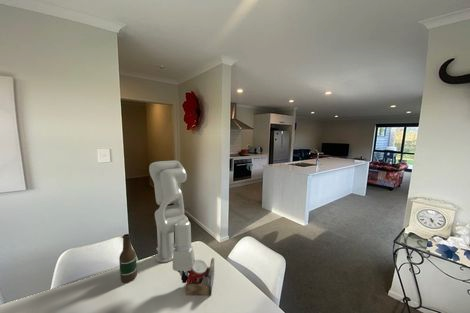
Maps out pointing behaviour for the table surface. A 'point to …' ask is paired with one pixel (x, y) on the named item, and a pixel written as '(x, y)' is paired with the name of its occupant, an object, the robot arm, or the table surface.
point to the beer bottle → (127, 261)
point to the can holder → (202, 288)
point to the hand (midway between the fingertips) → (184, 281)
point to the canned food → (197, 272)
